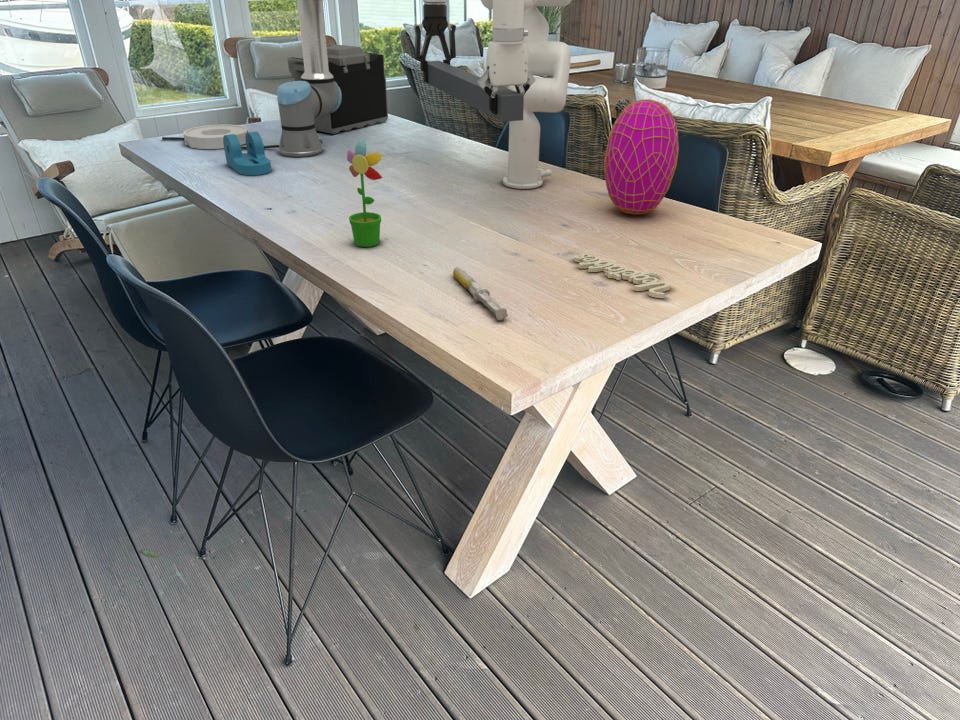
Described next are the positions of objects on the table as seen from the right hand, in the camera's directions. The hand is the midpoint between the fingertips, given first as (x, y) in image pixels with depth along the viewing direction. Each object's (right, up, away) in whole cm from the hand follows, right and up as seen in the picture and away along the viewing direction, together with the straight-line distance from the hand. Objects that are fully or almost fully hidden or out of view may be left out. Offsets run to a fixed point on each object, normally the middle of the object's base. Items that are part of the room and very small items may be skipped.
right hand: (505, 111), depth 177 cm
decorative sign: (+26, -45, -22) cm, 56 cm away
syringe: (-7, -51, -32) cm, 61 cm away
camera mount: (-83, 0, +52) cm, 98 cm away
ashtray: (-106, +19, +84) cm, 137 cm away
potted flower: (-35, -35, -6) cm, 50 cm away
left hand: (-21, +29, +51) cm, 62 cm away
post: (-11, +13, +26) cm, 31 cm away
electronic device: (-64, +35, +112) cm, 134 cm away
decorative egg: (+37, -23, +17) cm, 46 cm away
